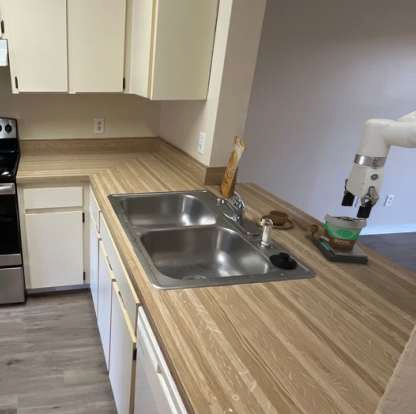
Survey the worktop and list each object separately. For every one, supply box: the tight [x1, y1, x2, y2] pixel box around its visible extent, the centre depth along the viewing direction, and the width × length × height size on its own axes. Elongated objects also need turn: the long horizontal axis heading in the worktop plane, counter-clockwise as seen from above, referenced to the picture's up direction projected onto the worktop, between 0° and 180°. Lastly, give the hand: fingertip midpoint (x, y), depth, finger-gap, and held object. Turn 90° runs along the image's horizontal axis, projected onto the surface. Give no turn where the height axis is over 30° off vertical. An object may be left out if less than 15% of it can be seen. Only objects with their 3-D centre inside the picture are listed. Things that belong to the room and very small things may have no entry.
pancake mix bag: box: [220, 135, 247, 199], centre depth 163 cm, size 7×19×28 cm, turn 165°
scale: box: [312, 237, 369, 266], centre depth 114 cm, size 11×13×3 cm
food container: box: [322, 213, 368, 248], centre depth 111 cm, size 12×6×10 cm, turn 76°
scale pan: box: [319, 235, 369, 259], centre depth 113 cm, size 10×12×1 cm
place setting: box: [254, 210, 320, 240], centre depth 131 cm, size 18×20×6 cm
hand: (354, 211), depth 108 cm, fingers open, 9 cm apart
